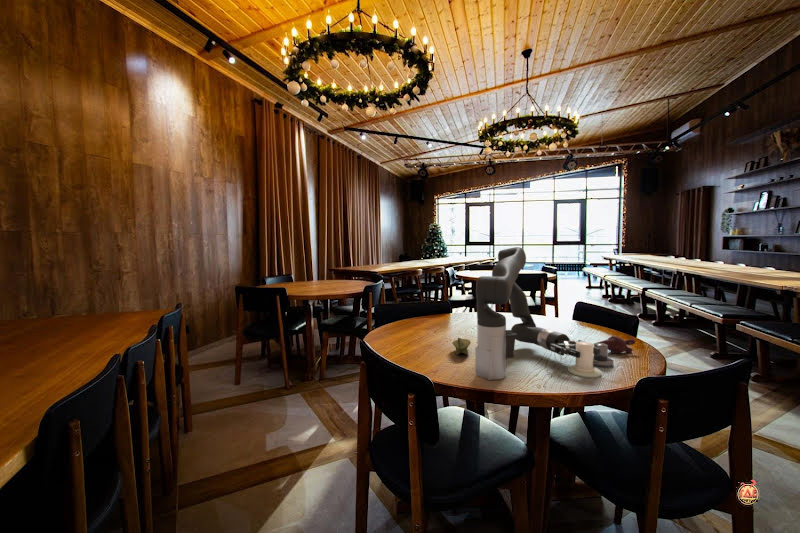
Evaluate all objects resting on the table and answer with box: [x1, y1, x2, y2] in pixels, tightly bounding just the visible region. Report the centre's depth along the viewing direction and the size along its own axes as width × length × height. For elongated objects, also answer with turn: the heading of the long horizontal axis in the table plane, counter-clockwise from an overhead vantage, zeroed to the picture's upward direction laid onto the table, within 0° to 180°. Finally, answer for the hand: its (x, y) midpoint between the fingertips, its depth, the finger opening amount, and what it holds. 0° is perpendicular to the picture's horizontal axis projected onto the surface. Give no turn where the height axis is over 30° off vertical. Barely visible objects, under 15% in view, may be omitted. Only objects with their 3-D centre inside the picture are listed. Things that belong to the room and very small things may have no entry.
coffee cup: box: [506, 329, 517, 359], centre depth 135 cm, size 8×8×10 cm
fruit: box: [452, 337, 472, 356], centre depth 139 cm, size 11×12×7 cm
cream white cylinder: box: [573, 341, 595, 373], centre depth 117 cm, size 6×6×9 cm
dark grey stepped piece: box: [593, 342, 614, 368], centre depth 125 cm, size 8×8×7 cm
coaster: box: [567, 364, 602, 379], centre depth 117 cm, size 10×10×1 cm
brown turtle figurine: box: [596, 335, 636, 355], centre depth 137 cm, size 7×7×15 cm
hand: (589, 353), depth 115 cm, fingers open, 8 cm apart
